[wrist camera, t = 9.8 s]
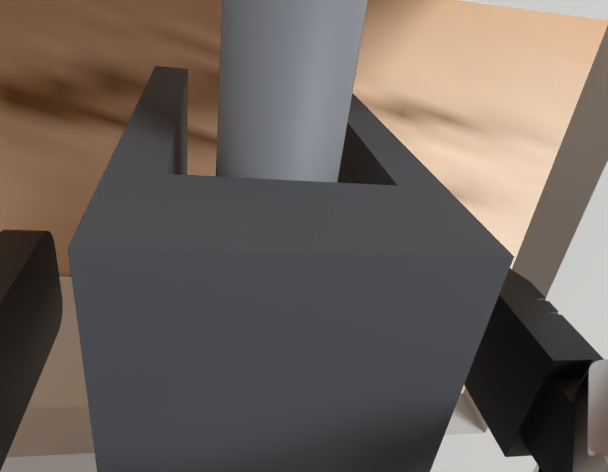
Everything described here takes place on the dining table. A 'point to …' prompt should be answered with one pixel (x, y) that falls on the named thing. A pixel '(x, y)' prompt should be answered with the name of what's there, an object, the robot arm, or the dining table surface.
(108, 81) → the dining table surface
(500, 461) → the white channel bracket
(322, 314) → the gray u-channel post
